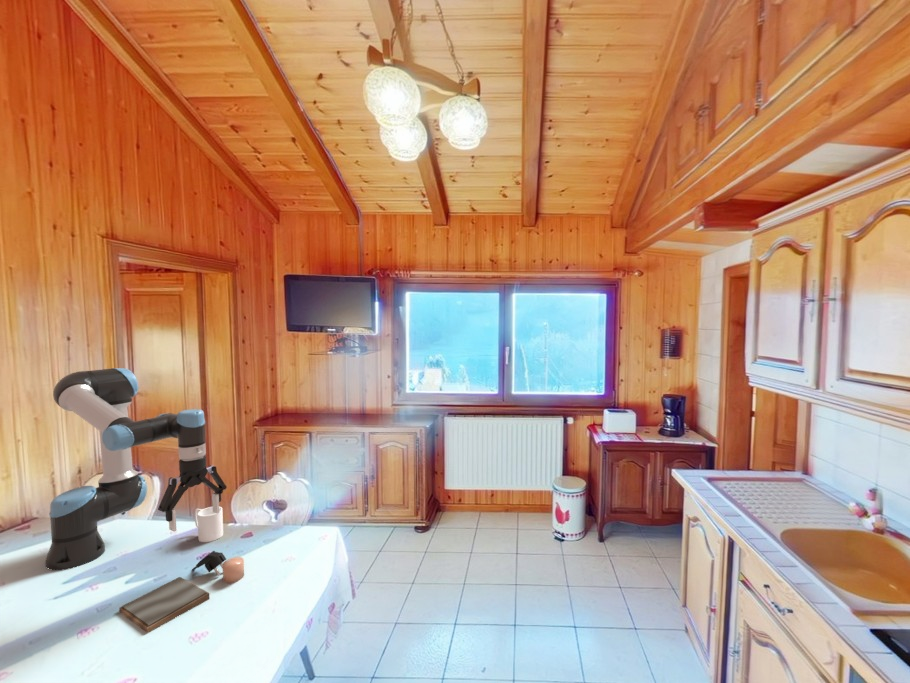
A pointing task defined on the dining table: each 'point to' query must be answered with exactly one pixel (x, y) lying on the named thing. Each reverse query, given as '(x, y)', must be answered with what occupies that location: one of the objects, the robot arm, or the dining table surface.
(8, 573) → the dining table surface
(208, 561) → the power plug
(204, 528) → the cup
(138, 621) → the stand
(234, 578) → the peach rounded cylinder
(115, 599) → the dining table surface
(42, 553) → the dining table surface
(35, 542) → the dining table surface
